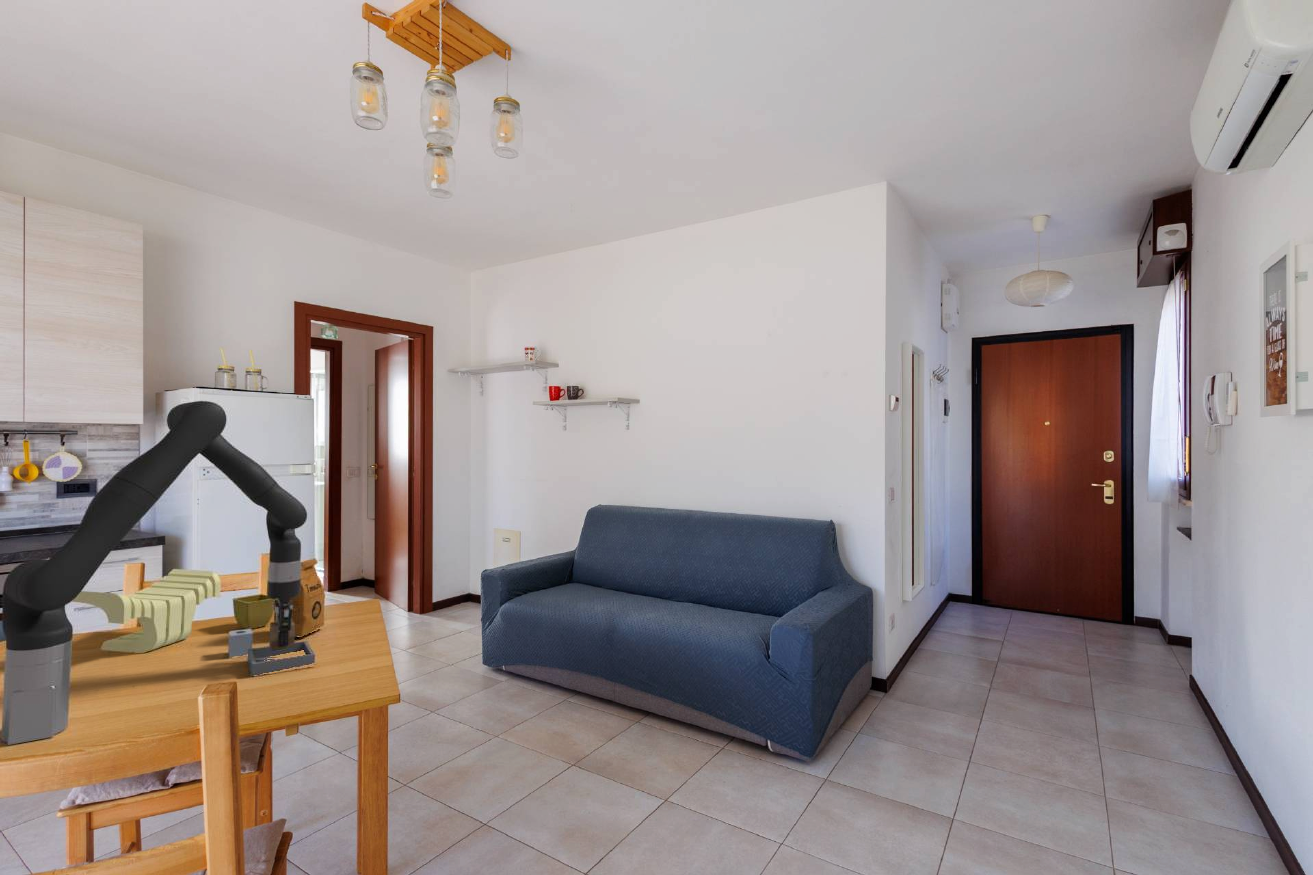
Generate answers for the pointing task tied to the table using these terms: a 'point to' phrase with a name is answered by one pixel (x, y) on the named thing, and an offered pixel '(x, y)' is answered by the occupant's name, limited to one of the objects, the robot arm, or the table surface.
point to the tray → (262, 653)
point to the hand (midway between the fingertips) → (281, 643)
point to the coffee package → (308, 601)
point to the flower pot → (253, 610)
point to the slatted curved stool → (156, 609)
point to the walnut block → (274, 636)
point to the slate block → (240, 642)
